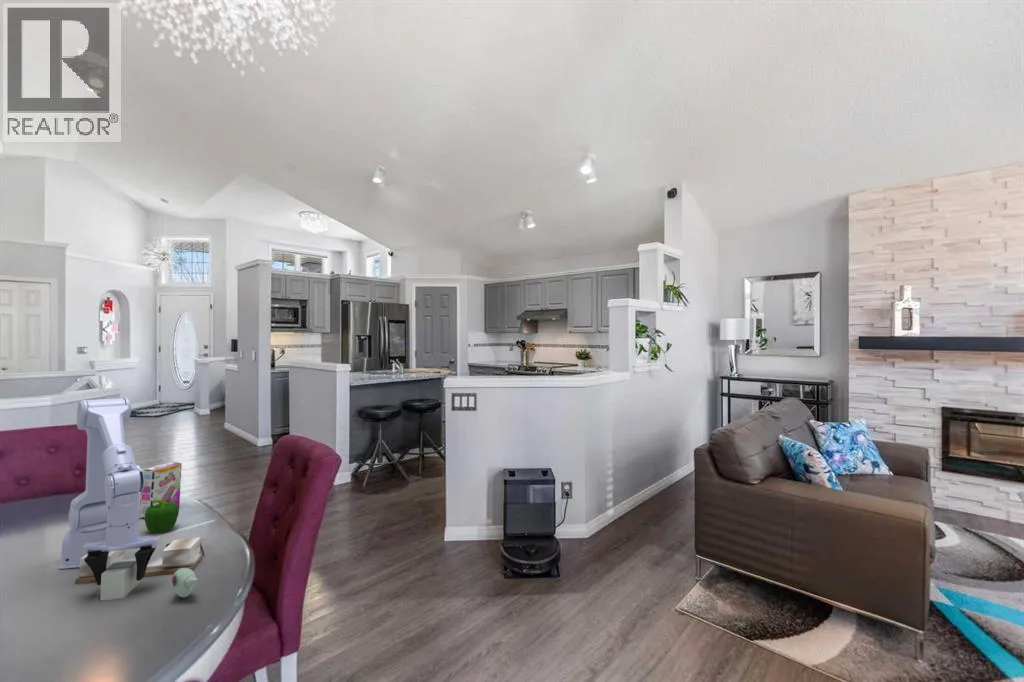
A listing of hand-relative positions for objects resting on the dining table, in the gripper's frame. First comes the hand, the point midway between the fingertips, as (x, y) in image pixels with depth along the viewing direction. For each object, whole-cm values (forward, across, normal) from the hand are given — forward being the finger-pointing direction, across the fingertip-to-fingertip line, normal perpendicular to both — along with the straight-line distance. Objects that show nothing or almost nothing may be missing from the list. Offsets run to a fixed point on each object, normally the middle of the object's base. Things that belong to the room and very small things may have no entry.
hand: (121, 580), depth 105 cm
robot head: (+3, +15, -7) cm, 17 cm away
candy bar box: (+2, -14, +56) cm, 58 cm away
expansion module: (+2, 0, 0) cm, 3 cm away
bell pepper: (+3, -7, +39) cm, 40 cm away
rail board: (+2, 0, +10) cm, 11 cm away
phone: (+3, +6, +20) cm, 21 cm away
